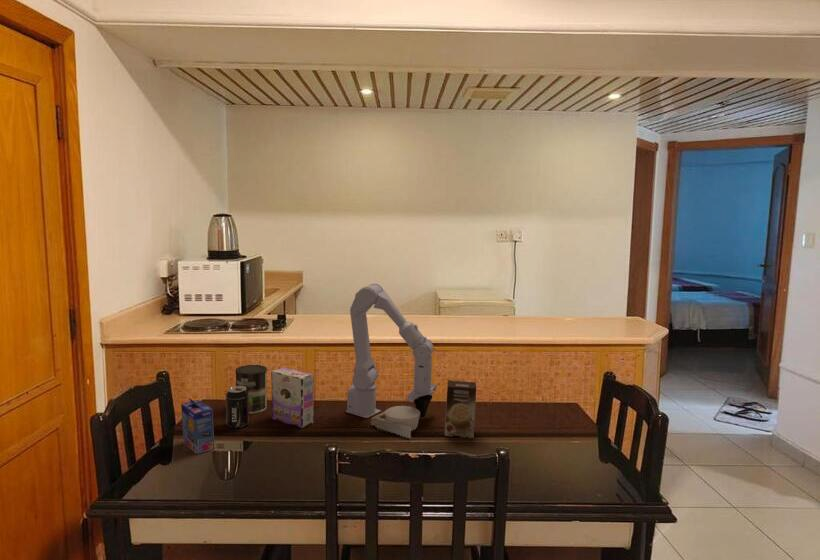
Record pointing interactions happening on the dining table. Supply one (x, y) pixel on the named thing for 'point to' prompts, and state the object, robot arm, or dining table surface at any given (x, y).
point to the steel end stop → (393, 427)
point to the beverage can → (237, 407)
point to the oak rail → (381, 415)
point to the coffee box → (460, 409)
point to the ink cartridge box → (197, 426)
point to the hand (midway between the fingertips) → (421, 416)
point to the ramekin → (403, 416)
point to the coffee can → (253, 385)
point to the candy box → (292, 397)
